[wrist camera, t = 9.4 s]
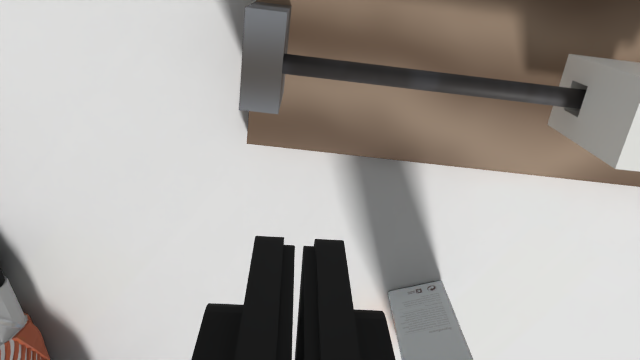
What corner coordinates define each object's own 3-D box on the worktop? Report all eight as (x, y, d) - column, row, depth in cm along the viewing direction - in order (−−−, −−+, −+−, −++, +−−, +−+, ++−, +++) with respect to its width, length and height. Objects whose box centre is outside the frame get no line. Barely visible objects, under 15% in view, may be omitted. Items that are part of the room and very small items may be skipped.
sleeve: (569, 53, 27) (648, 79, 21) (656, 64, 27) (762, 93, 21) (547, 124, 29) (615, 168, 22) (631, 134, 29) (722, 180, 23)
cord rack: (263, -66, 28) (247, -77, 21) (763, 1, 30) (897, 10, 23) (249, 136, 33) (232, 180, 26) (683, 184, 35) (776, 237, 28)
